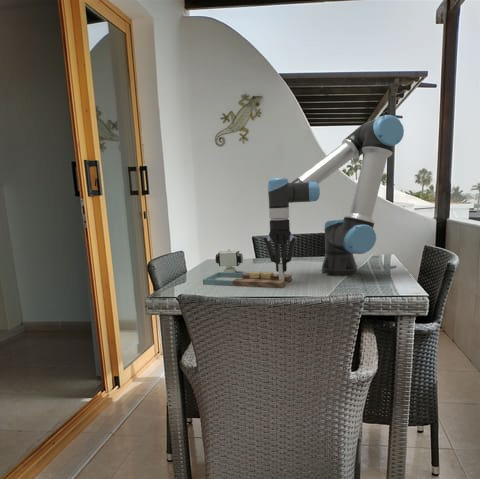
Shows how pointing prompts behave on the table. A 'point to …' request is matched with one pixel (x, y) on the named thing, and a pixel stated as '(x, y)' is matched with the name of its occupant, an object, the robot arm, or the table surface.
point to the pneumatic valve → (229, 260)
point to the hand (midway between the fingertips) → (281, 279)
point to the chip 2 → (267, 276)
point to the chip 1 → (255, 275)
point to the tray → (211, 280)
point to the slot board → (262, 281)
